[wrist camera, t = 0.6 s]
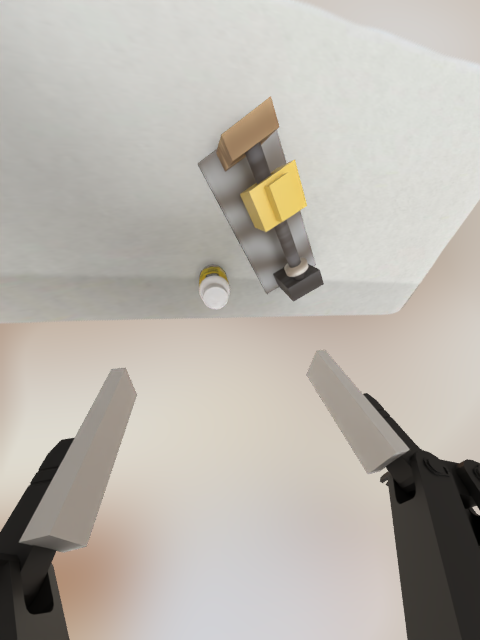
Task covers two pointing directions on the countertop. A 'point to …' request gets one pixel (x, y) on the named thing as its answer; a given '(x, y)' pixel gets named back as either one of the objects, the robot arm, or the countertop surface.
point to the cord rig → (227, 184)
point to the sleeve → (275, 197)
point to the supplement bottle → (214, 287)
